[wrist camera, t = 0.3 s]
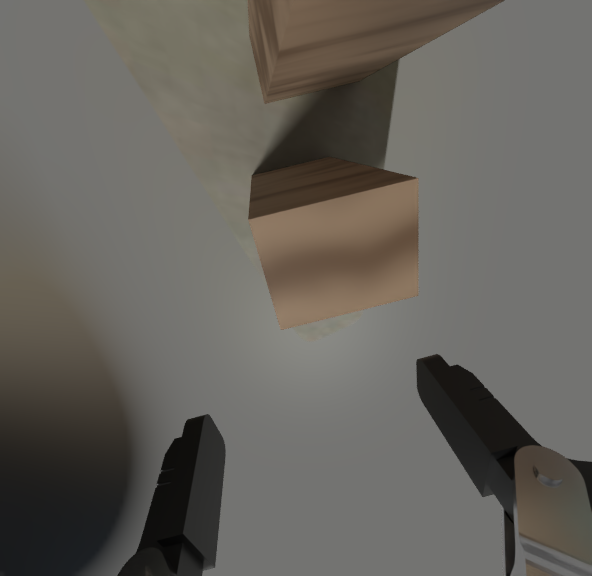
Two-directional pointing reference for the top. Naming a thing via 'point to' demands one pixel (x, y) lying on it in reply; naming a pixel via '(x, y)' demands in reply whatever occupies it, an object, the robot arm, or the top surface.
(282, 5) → the walnut post
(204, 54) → the top surface
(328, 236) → the low walnut block
